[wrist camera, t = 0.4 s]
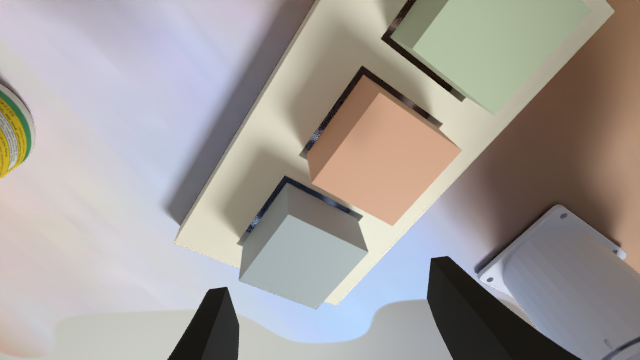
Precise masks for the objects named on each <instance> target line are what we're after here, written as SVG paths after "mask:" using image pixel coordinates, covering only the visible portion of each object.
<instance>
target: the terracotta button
mask: <svg viewBox="0 0 640 360" xmlns="http://www.w3.org/2000/svg"><path fill="white" fill-rule="evenodd" d="M461 151H462V150H461V149H460V148H459V147H458V146H457V145H456V144H455V143H453V142H452V141H451V140H450V139H449V138H448V137H447V136H446V135H445V134H444V133H443V132H442V131H441V130H440V129H438V128H437V127H436V126H435V125H434V124H432V123H431V122H429V121H428V120H427V119H425V118H424V117H422V116H421V115H420V114H418V113H417V112H415V111H414V110H413V109H411V108H410V107H408V106H407V105H406V104H404V103H403V102H401V101H400V100H399V99H397V98H396V97H394V96H393V95H392V94H390V93H389V92H387V91H386V90H385V89H383V88H382V87H380V86H379V85H378V84H376V83H375V82H373V81H372V80H371V79H369V78H368V77H366V76H365V75H363V76H362V77H361V79H360V80H359V82H358V83H357V84H356V86H355V87H354V89H353V90H352V91H351V93H350V94H349V96H348V97H347V98H346V100H345V101H344V103H343V104H342V105H341V107H340V108H339V110H338V111H337V112H336V114H335V115H334V117H333V118H332V119H331V121H330V122H329V124H328V125H327V126H326V128H325V129H324V131H323V132H322V133H321V135H320V136H319V138H318V139H317V141H316V142H315V143H314V145H313V146H312V148H311V149H310V150H309V152H308V153H307V160H308V166H309V172H310V177H311V183H312V184H314V185H315V186H317V187H319V188H321V189H323V190H325V191H327V192H329V193H331V194H333V195H334V196H336V197H338V198H340V199H342V200H344V201H346V202H348V203H350V204H351V205H353V206H355V207H357V208H359V209H361V210H363V211H365V212H367V213H368V214H370V215H372V216H374V217H376V218H378V219H380V220H382V221H384V222H386V223H387V224H389V225H391V226H393V225H394V224H395V223H396V222H397V221H398V220H399V219H400V218H401V217H402V215H403V214H404V213H405V212H406V211H407V210H408V209H409V208H410V207H411V206H412V205H413V204H414V202H415V201H416V200H417V199H418V198H419V197H420V196H421V195H422V194H423V193H424V192H425V190H426V189H427V188H428V187H429V186H430V185H431V184H432V183H433V182H434V181H435V180H436V178H437V177H438V176H439V175H440V174H441V173H442V172H443V171H444V170H445V169H446V168H447V166H448V165H449V164H450V163H451V162H452V161H453V160H454V159H455V158H456V157H457V156H458V155H459V153H460V152H461Z"/></svg>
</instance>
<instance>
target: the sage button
mask: <svg viewBox="0 0 640 360" xmlns="http://www.w3.org/2000/svg"><path fill="white" fill-rule="evenodd" d="M590 11H591V10H590V8H589V7H588V6H587V5H586V4H585V3H584V1H583V0H416V2H415V3H414V4H413V6H412V7H411V9H410V10H409V11H408V13H407V14H406V16H405V17H404V18H403V20H402V21H401V23H400V24H399V25H398V27H397V28H396V30H395V31H394V32H393V34H392V35H391V37H390V38H391V39H393V40H394V41H395V42H397V43H398V44H399V45H400V46H402V47H403V48H404V49H405V50H407V51H408V52H409V53H410V54H412V55H413V56H414V57H415V58H417V59H418V60H419V61H420V62H422V63H423V64H424V65H426V66H427V67H428V68H429V69H431V70H432V71H433V72H434V73H436V74H437V75H438V76H439V77H441V78H442V79H443V80H444V81H446V82H447V83H448V84H449V85H451V86H452V87H453V88H454V89H456V90H457V91H458V92H460V93H461V94H462V95H463V96H465V97H467V98H468V99H470V100H471V101H473V102H474V103H476V104H478V105H479V106H481V107H482V108H484V109H486V110H487V111H489V112H490V113H492V114H493V115H495V114H496V113H497V112H498V111H499V110H500V109H501V108H502V107H503V106H504V104H505V103H506V102H507V101H508V100H509V99H510V98H511V97H512V96H513V95H514V94H515V92H516V91H517V90H518V89H519V88H520V87H521V86H522V85H523V84H524V83H525V82H526V81H527V79H528V78H529V77H530V76H531V75H532V74H533V73H534V72H535V71H536V70H537V69H538V67H539V66H540V65H541V64H542V63H543V62H544V61H545V60H546V59H547V58H548V57H549V55H550V54H551V53H552V52H553V51H554V50H555V49H556V48H557V47H558V46H559V45H560V44H561V42H562V41H563V40H564V39H565V38H566V37H567V36H568V35H569V34H570V33H571V32H572V30H573V29H574V28H575V27H576V26H577V25H578V24H579V23H580V22H581V21H582V20H583V18H584V17H585V16H586V15H587V14H588V13H589V12H590Z"/></svg>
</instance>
